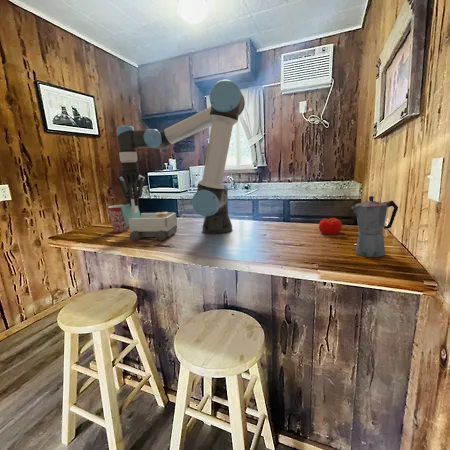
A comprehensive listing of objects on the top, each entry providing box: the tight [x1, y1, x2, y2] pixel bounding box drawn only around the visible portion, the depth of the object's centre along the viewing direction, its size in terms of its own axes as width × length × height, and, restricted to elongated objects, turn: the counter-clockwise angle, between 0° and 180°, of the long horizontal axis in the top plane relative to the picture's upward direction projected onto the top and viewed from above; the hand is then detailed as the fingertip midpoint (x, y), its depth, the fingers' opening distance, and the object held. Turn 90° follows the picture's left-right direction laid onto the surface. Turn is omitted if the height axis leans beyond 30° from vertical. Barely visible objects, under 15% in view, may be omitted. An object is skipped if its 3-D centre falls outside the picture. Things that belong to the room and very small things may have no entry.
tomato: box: [318, 217, 343, 236], centre depth 116 cm, size 10×11×6 cm
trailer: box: [128, 212, 178, 242], centre depth 123 cm, size 18×18×10 cm
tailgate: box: [121, 203, 141, 230], centre depth 123 cm, size 1×16×11 cm, turn 173°
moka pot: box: [351, 195, 399, 258], centre depth 87 cm, size 10×15×20 cm, turn 95°
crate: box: [155, 211, 169, 218], centre depth 123 cm, size 5×5×5 cm
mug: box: [107, 204, 129, 233], centre depth 137 cm, size 13×9×14 cm
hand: (135, 212), depth 123 cm, fingers closed
